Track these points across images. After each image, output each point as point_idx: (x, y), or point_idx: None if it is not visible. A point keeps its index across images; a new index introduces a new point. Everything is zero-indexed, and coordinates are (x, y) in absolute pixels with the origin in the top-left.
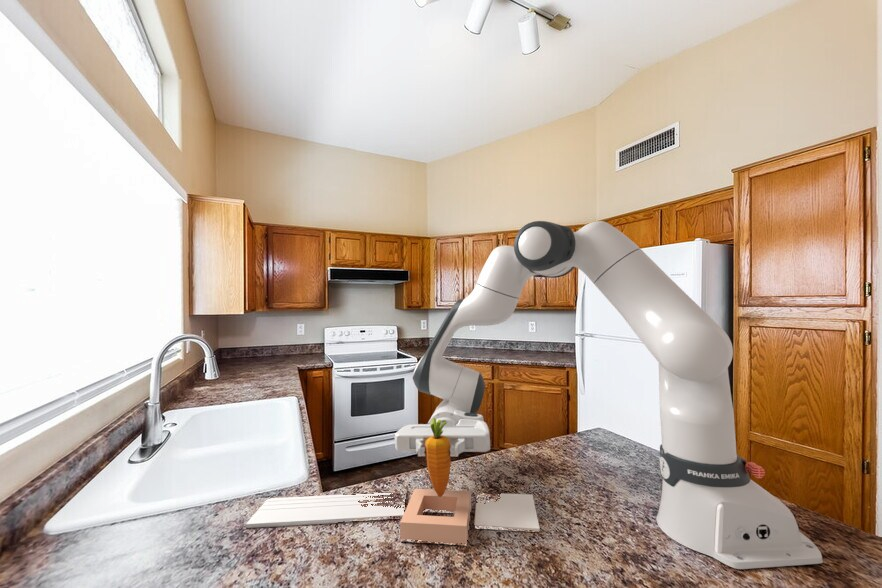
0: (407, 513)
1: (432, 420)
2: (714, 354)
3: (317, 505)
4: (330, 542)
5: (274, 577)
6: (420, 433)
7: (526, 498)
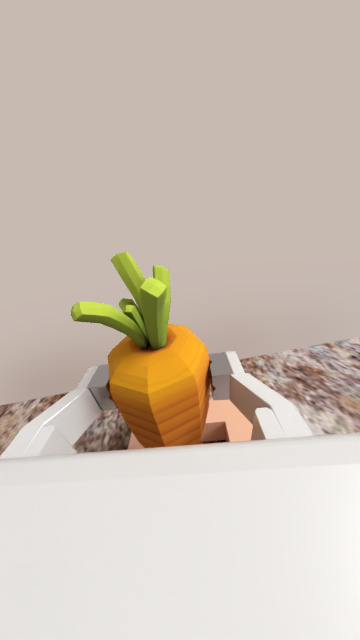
0: (244, 422)
1: (162, 289)
2: None
3: None
4: (344, 395)
5: (330, 344)
6: (320, 463)
7: None
